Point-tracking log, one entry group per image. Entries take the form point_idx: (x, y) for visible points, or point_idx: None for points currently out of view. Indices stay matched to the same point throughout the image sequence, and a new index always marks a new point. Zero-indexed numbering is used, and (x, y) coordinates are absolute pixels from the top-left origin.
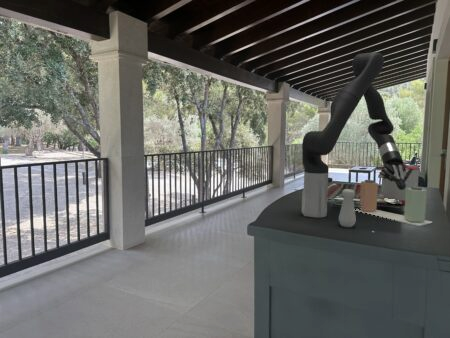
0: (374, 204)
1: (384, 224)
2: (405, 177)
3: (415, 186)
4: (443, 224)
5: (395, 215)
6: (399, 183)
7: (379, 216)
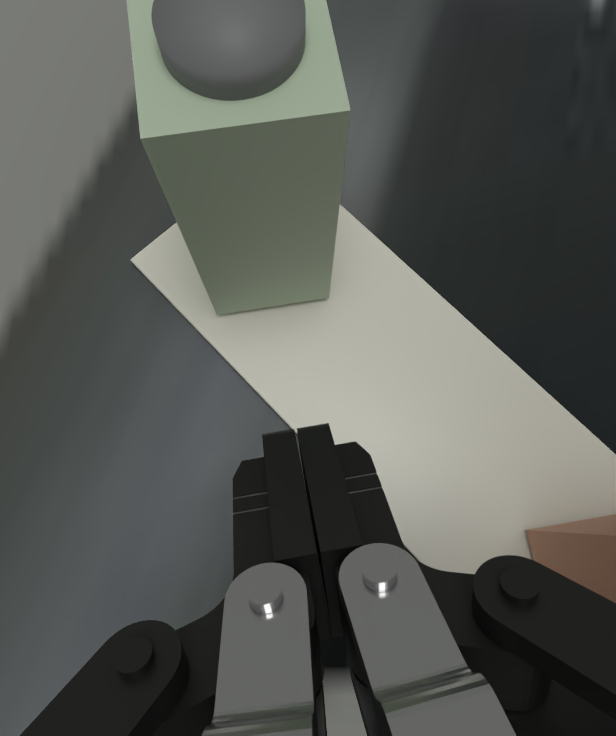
0: (581, 528)
1: (504, 151)
2: (178, 631)
3: (219, 65)
4: (66, 238)
5: (367, 413)
6: (353, 495)
7: (511, 362)
